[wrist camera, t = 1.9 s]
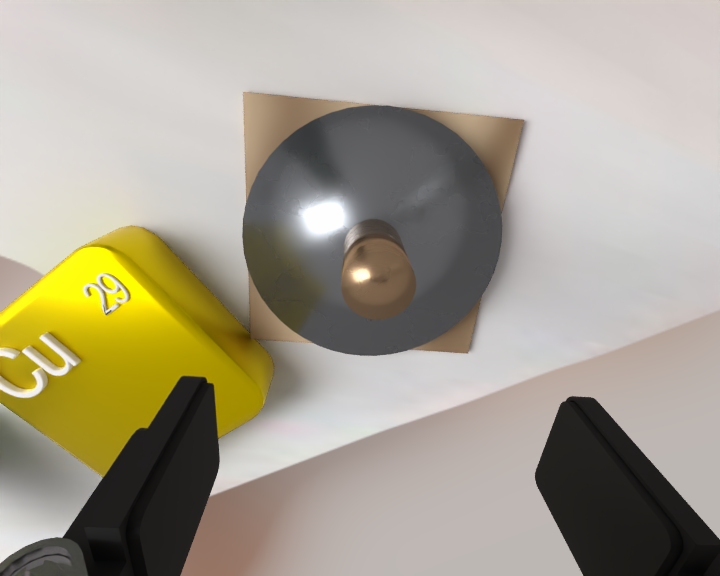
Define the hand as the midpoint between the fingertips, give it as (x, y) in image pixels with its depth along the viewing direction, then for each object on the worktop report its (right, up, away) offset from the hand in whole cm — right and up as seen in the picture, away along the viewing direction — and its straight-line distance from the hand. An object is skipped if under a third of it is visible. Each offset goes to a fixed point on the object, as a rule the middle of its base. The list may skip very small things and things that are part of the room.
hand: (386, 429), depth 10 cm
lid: (0, +7, +15) cm, 16 cm away
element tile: (-17, -1, +19) cm, 25 cm away
